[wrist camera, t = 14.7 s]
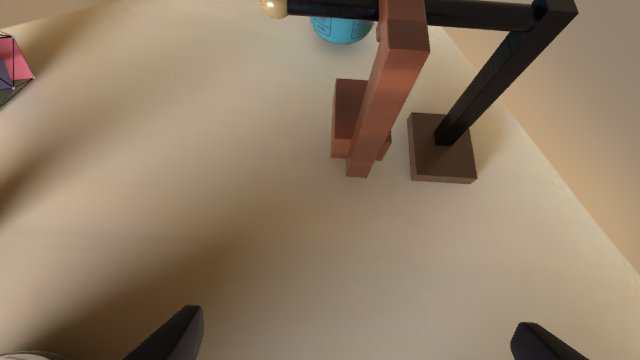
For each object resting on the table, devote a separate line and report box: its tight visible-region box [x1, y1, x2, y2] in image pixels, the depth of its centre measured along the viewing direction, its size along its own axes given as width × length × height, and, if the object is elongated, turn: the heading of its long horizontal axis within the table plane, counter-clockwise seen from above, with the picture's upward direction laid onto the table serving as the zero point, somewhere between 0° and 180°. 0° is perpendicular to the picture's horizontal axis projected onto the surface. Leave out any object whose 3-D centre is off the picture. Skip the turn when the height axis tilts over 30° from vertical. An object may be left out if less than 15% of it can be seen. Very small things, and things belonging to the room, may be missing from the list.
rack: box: [260, 0, 578, 184], centre depth 20 cm, size 6×16×14 cm, turn 87°
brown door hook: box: [331, 0, 430, 178], centre depth 18 cm, size 7×4×12 cm, turn 177°
